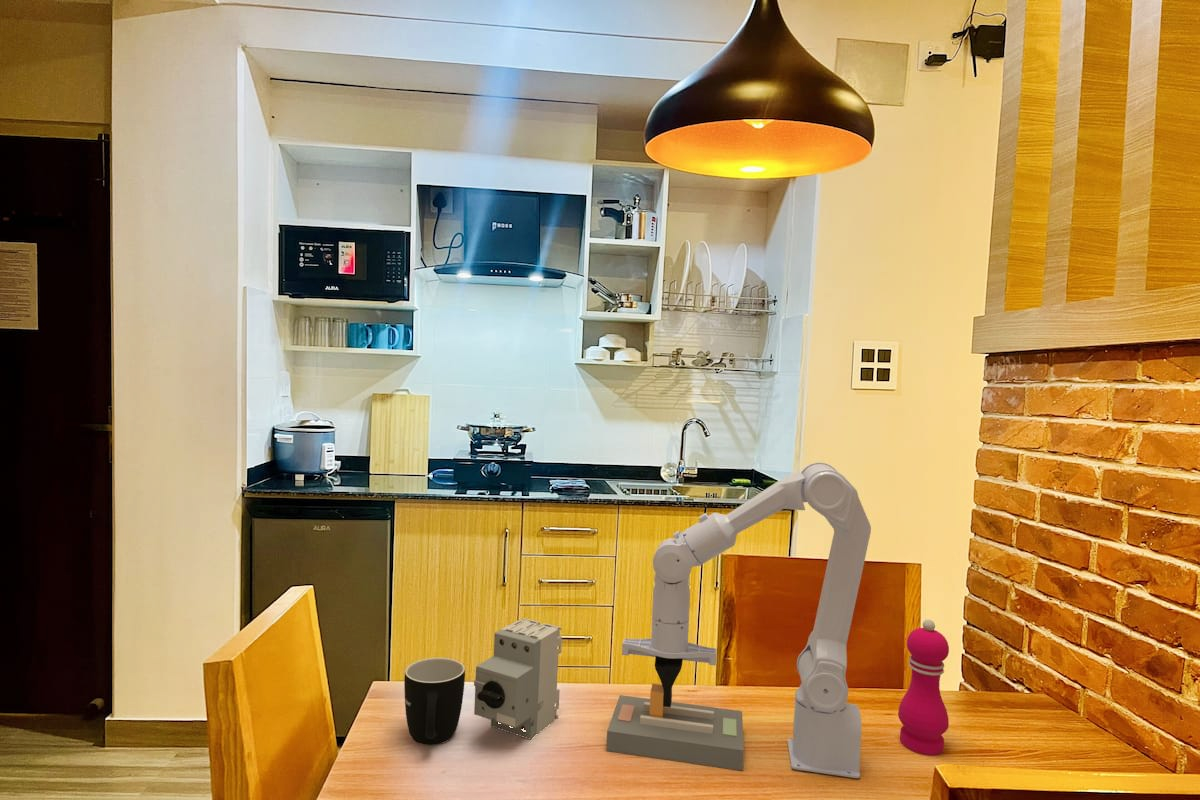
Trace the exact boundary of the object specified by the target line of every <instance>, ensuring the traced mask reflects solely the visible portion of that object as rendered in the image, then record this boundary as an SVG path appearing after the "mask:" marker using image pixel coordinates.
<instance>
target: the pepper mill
mask: <svg viewBox="0 0 1200 800" xmlns="http://www.w3.org/2000/svg"><path fill="white" fill-rule="evenodd" d="M935 629H936V625H935V622H934V621H933V620H931V619H925V620H923V622H922V627H919V628H915V629H913V630H912V631H911V632H910V633H909V634H908V636H907V638H906V649H907V651H908V652H909V654H910V655H909V658H908V659H909V663H908V666H909V668H910V669H911V680H910V684H909V686H908V688H907V691H906V692H905V694H904V695H903V697H902V699H901V701H900V703H899V705H898V711H897V714H898V719H899V721H900V723H901V724H902V726H901V728H900V731H899V733H900V734H899V740H900V742H901V745H902V746H904V747H905V748H907V749H908V750H911V751H913V752H915V753H918V754H922V755H927V756H937V755H940V754H942V753H943V752H944V748H945V747H944V746H945V739H944V736H943V735H944V734H945V733H946V732H947V731H948V729H949V725H950V724H949V716H948V710H947V708H946V705H945V703H944V699H943V697H942V695H941V690H940V681H941V675H943V674H944V673H945V669H944V668H945V663H944V662H943V661H945V660H946V659H947V657H948V656H949V652H950V648H949V647H950V646H949V643H948V641H947V639H946V637H945V636H944V634H942V633H941V632H940V631H938V630H935Z"/></svg>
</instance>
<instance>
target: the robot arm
mask: <svg viewBox="0 0 1200 800" xmlns="http://www.w3.org/2000/svg"><path fill="white" fill-rule="evenodd" d="M804 503H807V504H808V505H809V506H810V507H811V508H812V509H813V510H814V511H816V512H817V513H818V514H820V515H821V516H823V517H824V518H825V519H826V521H827V522H828V524H829V525H830V526H831V527H832V529H833V535H832V540H831V545H830V549H829V554H828V559H827V564H826V568H825V573H824V577H823V582H822V587H821V592H820V597H819V602H818V606H817V610H816V616H815V621H814V625H813V630H812V631H811V632H810V634H809V635H808V640H807V643H806V646H805V648H804V649H803V650H802V651H801V652H800V653H799V655H798V657H797V660H796V669H797V673H798V674H799V677H800V681H801V683H800V685H799V687H798V688H797V690H796V691H795V693H794V712H793V713H794V714H793V728H792V729H793V730H792V738H787V741H786V743H787V749H788V754H789V760H790V766H791V768H792V769H793V770H797V771H802V772H803V771H805V772H811V773H817V774H818V773H819V774H823V775H825V774H826V775H832V776H840V777H847V778H852V779H860V778H861V773H860V762H861V750H862V749H861V748H862V747H861V746H862V715H861V712H860V707H859V706H858V704H855V703H851V702H847V699H848V697H849V686H848V683H847V680H846V674H847V668H848V659H847V658H848V657H847V656H848V655H847V646H848V645H847V644H848V639H849V635H850V630H851V625H852V621H853V617H854V611H855V607H856V602H857V598H858V597H857V596H858V593H859V589H860V584H861V580H862V574H863V570H864V565H865V561H866V556H867V550H868V546H869V542H870V541H869V540H870V537H871V531H872V528H871V527H872V525H871V523H870V521H869V519H868V516H867V513H866V512H865V509H864V507H863V505H862V501H861V499H860V498H859V493H858V490H857V489H856V488H855V487H854V485H852V483H851V482H850V481H849V480H848V479H847V478H846V477H845V476H844V475H843V474H842V473H840V472H839V471H838V470H837V469H835V468H834V467H833V466H832V465H830V464H828V463H825V462H813V463H810V464H808V465H807V466H805V467H804V468H803V469H802V470H800V469H799V470H797V471H794V472H792V473H789V474H788V475H787V476H784V477H783V478H781V479H780V480H777V481H776V482H774V483H773V484H771V485H770V486H768V487H767V488H765V489H764V490H762V491H761V492H759V493H758V494H756V495H755V496H754V497H751V498H750V499H749V500H747V501H746V502H744V503H743V504H741V505H739V506H738V507H736V508H735V509H734V510H732V511H730V512H729V513H727V514H723V513H718V512H713V513H711V514H709V515H708V513H706V512H705V513H702V515H699V516H698V517H699V518H698V519H699V521H698V522H696V523H695V524H692V525H691V526H690V527H688V528H686V529H684V530H683V531H681V532H680V530H676V531H675V532H673V535H672V536H673V538H672V537H669V538H666V539H664V540H663V541H662V542H660V543H659V545H658V546H657V549H656V551H655V553H654V554H653V555H654V556H653V559H652V567H653V571H654V573H655V574H654V577H653V582H654V586H653V589H652V611H651V632H650V633H651V635H650V637H651V638H623V641H622V643H621V644H622V645H621V655H622V656H629V655H634V656H645V657H651V658H652V657H653V658H655V660H654V668H655V671H656V673H657V676H658V678H659V681H660V682H661V685H662V686H663V690H664V696H663V707H671V702H673V701H672V700H673V686H674V683H675V682H676V680H677V678H678V676H679V674H680V672H681V670H682V667H683V661H687V662H694V663H695V662H697V663H705V664H708V665H709V666H714V667H715V666H717V656H718V655H717V652H718V651H717V650H718V649H717V648H714V647H709V646H704V645H700V644H696V643H692V642H689V633H690V632H689V631H690V630H689V629H690V628H689V626H690V605H691V603H690V602H691V589H690V574H691V571H692V568H695V567H700V566H702V565H704V564H705V563H707V562H708V561H711V560H712V559H714V558H715V557H717V556H719V555H721V554H723V553H724V552H726V551H727V550H729V549H731V548H732V547H735V545H736V541H737V536H738V534H739V533H741V532H742V531H745V530H746V529H749V528H751V527H752V526H754V525H757V524H758V523H760V522H761V521H763V520H765V519H768V517H771V516H773V515H775V514H777V513H778V512H780V511H782V510H795V511H805V510H806V507H805V504H804Z"/></svg>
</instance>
